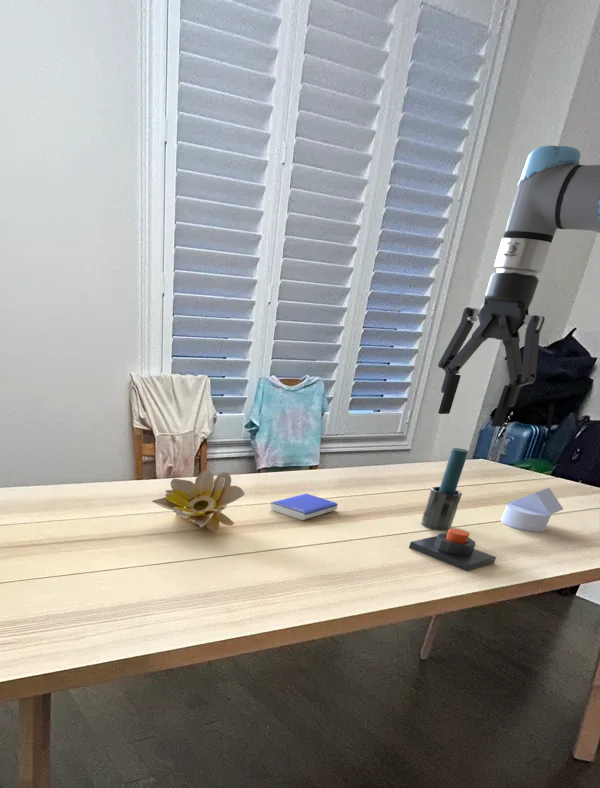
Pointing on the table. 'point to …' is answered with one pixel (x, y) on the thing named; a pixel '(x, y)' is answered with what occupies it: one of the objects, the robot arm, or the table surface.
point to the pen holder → (440, 509)
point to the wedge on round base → (531, 511)
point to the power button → (457, 536)
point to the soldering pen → (453, 471)
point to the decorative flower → (202, 499)
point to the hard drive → (303, 506)
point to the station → (453, 552)
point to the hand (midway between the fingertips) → (469, 419)
